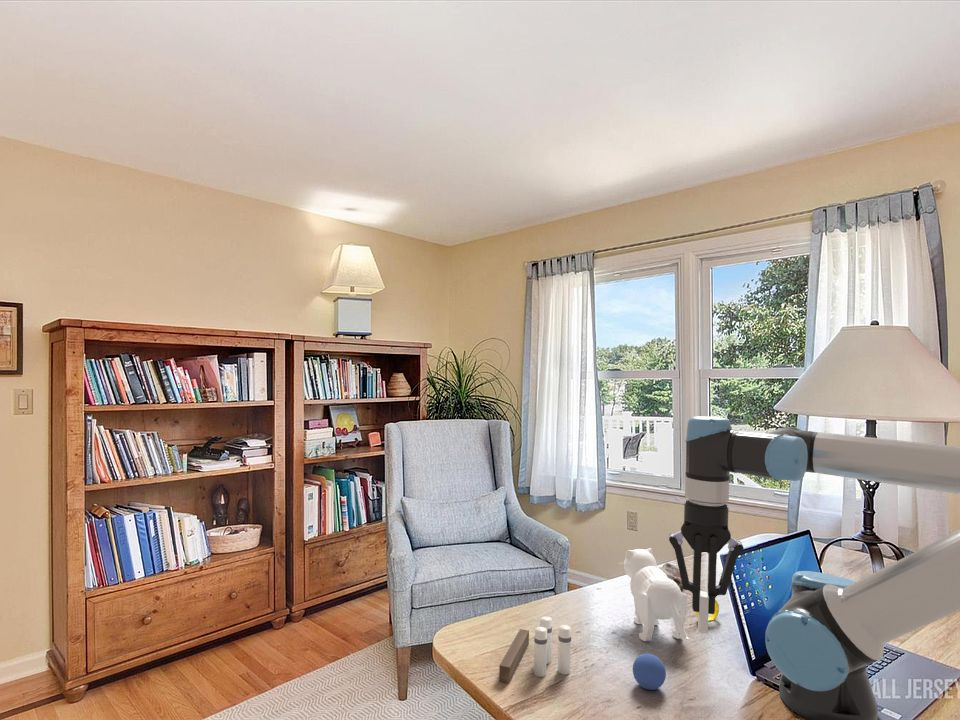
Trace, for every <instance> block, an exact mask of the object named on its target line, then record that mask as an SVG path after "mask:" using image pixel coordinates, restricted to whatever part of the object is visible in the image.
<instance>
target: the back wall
mask: <svg viewBox="0 0 960 720" xmlns="http://www.w3.org/2000/svg"><path fill="white" fill-rule="evenodd" d="M529 645H530V630H528V629H522V628H520V629H519V631H518V632H517V634H516V636H515V637H514V639H513V641H512V643H511V644H510V646H509V648H508V650H507V651H506V653H505V655H504V657H503V659H502V660H501V662H500V664H499V672H498V674H499V676H498V677H499V678H498V680H499V681H498V682H500V683H505V684H510V683H511V681H512V679H513V677H514V675H515V673H516V671H517V670H518V668H519V665H520V663H521V661H522V660H523V657H524V655H525V653H526V651H527V649H528V647H529Z"/></svg>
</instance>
